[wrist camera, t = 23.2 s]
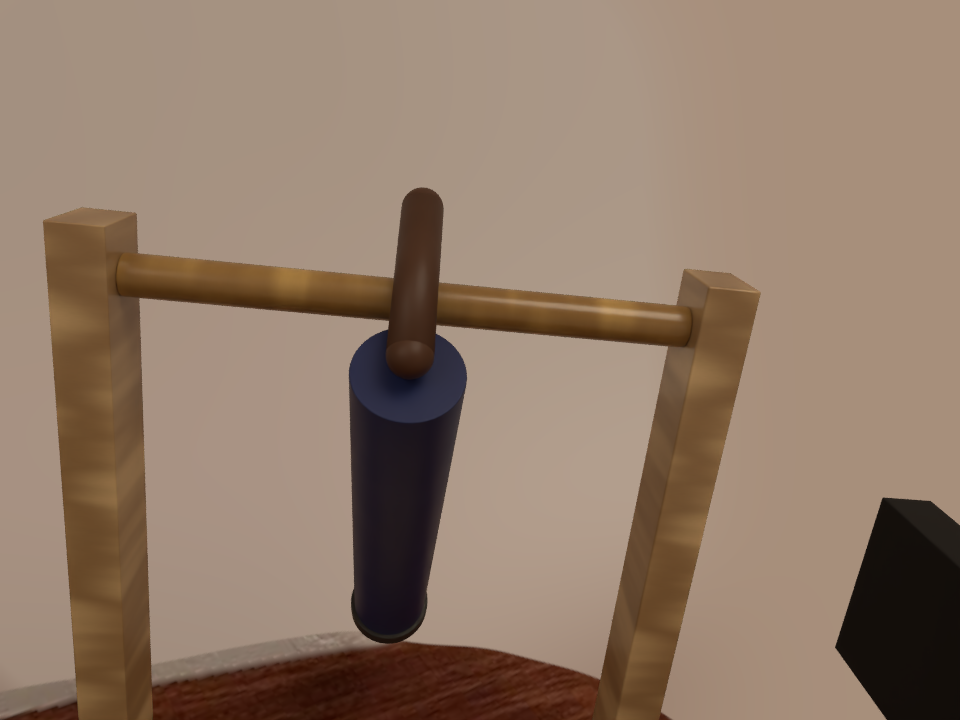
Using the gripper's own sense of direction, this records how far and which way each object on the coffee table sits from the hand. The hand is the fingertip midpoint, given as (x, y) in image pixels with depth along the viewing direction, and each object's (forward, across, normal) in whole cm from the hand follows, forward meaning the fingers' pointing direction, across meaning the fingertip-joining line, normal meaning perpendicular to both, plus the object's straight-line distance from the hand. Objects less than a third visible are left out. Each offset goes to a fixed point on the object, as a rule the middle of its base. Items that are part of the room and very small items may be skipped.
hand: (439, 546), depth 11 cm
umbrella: (+31, -1, -21) cm, 37 cm away
